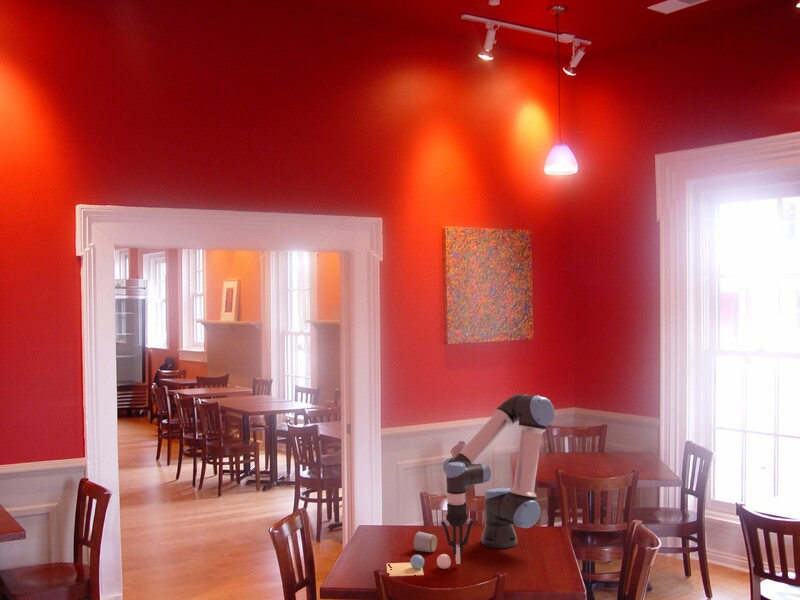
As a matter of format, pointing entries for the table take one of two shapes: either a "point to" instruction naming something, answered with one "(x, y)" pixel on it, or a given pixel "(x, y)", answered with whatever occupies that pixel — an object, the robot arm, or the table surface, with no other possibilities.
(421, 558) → the object ball
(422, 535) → the ceramic mug
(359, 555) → the table surface
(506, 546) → the robot arm
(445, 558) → the cue ball
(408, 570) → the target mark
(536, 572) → the table surface
